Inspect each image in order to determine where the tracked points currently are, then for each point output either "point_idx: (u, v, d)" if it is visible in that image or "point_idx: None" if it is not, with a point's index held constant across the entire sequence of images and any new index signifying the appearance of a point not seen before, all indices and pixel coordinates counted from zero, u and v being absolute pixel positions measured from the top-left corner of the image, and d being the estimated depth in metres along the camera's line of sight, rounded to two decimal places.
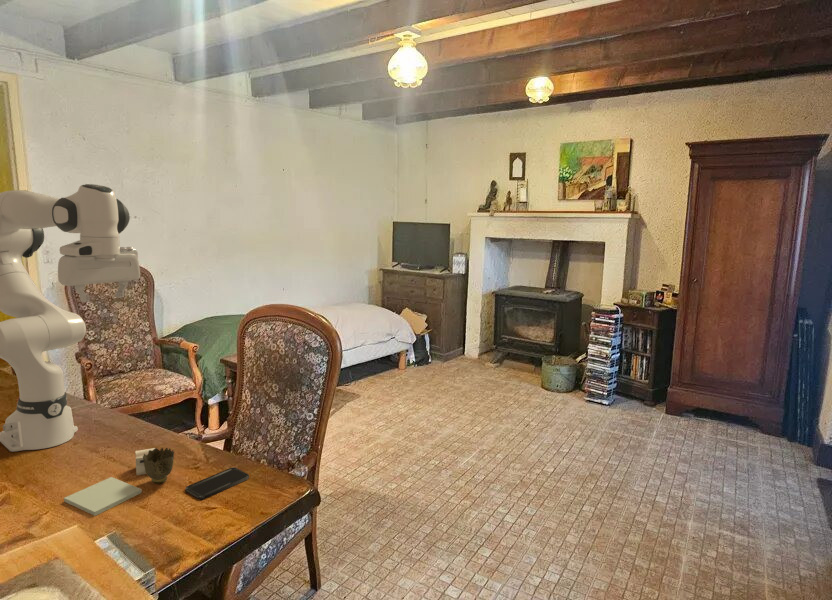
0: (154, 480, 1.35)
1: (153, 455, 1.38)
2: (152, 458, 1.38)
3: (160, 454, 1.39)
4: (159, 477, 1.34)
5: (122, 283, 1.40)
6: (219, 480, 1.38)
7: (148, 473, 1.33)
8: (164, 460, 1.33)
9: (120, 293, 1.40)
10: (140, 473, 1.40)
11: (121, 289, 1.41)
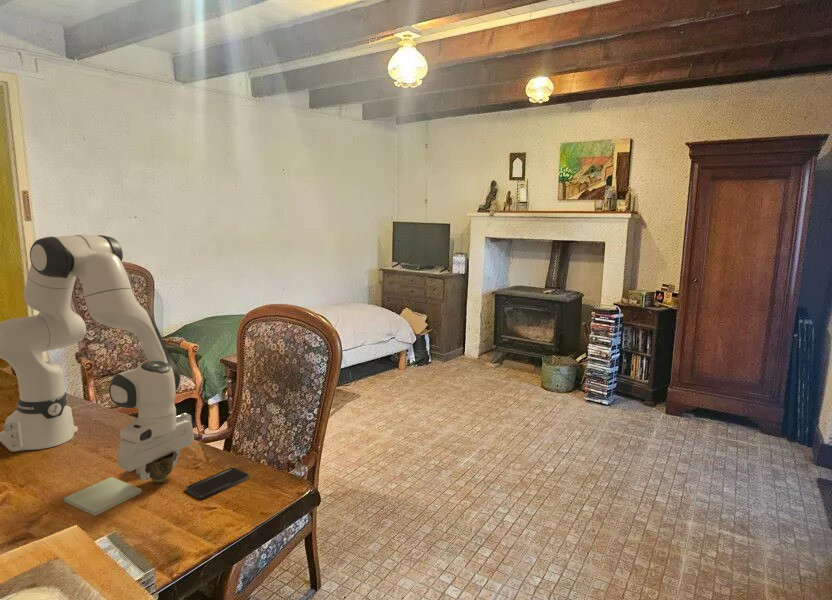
0: (154, 480, 1.35)
1: None
2: None
3: None
4: (159, 477, 1.34)
5: (175, 452, 1.40)
6: (219, 480, 1.38)
7: None
8: (164, 460, 1.33)
9: (173, 462, 1.39)
10: None
11: (174, 458, 1.40)
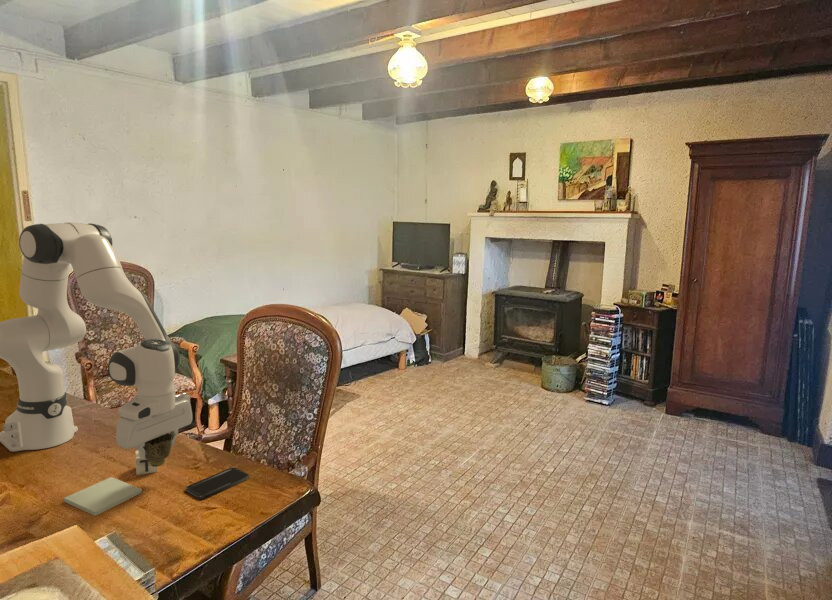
0: (152, 463, 1.34)
1: None
2: (150, 441, 1.37)
3: (158, 437, 1.38)
4: (157, 460, 1.33)
5: (173, 432, 1.39)
6: (219, 480, 1.38)
7: None
8: (162, 443, 1.33)
9: None
10: (140, 473, 1.40)
11: (172, 437, 1.39)
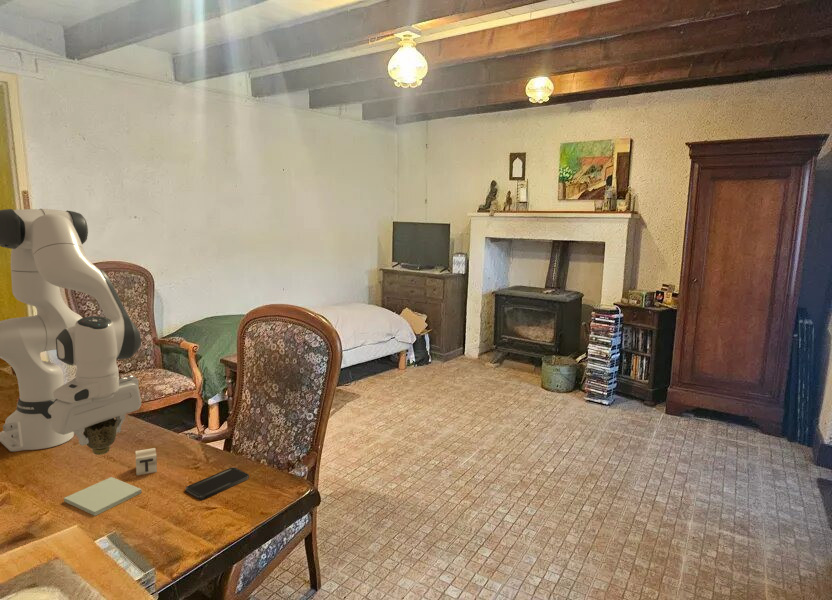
0: (95, 450, 1.24)
1: (95, 424, 1.27)
2: (93, 427, 1.27)
3: (103, 424, 1.28)
4: (100, 447, 1.23)
5: (119, 417, 1.29)
6: (219, 480, 1.38)
7: None
8: (104, 428, 1.23)
9: None
10: (140, 473, 1.40)
11: (117, 424, 1.29)
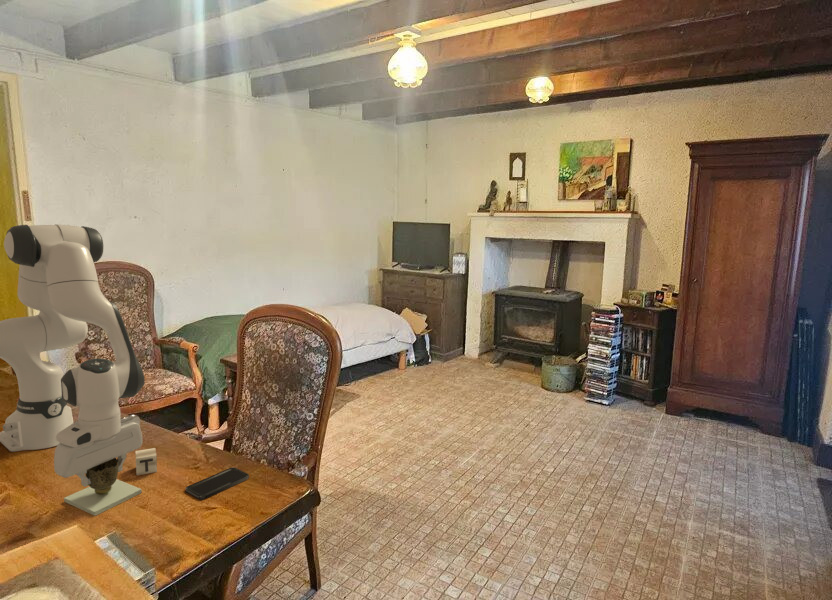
0: (97, 491, 1.26)
1: None
2: (95, 467, 1.29)
3: (104, 463, 1.30)
4: (101, 487, 1.25)
5: (120, 456, 1.31)
6: (219, 480, 1.38)
7: None
8: (106, 469, 1.24)
9: (118, 468, 1.30)
10: (140, 473, 1.40)
11: (119, 463, 1.31)
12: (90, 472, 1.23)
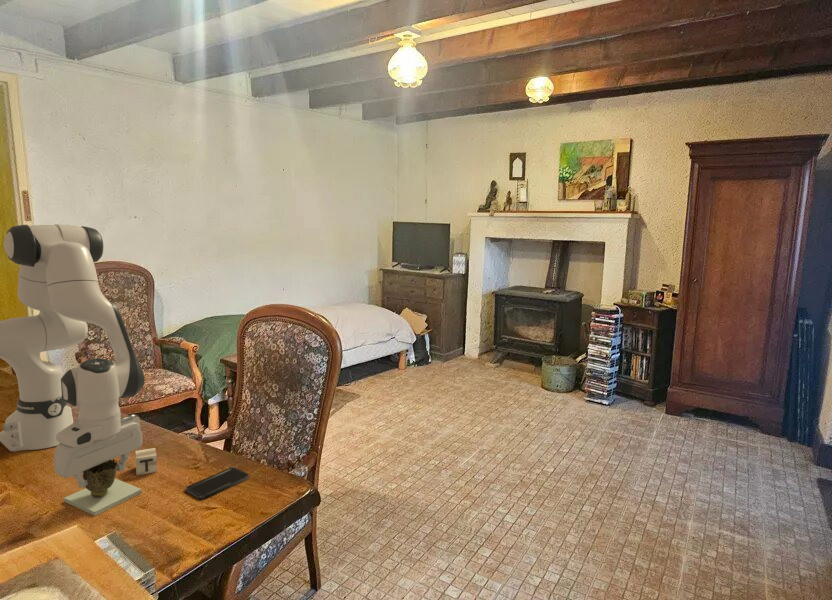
0: (93, 493, 1.25)
1: (95, 466, 1.29)
2: (93, 469, 1.28)
3: (103, 465, 1.30)
4: (98, 490, 1.24)
5: (123, 455, 1.31)
6: (219, 480, 1.38)
7: None
8: (105, 471, 1.24)
9: (121, 466, 1.31)
10: (140, 473, 1.40)
11: (122, 461, 1.31)
12: (88, 473, 1.23)
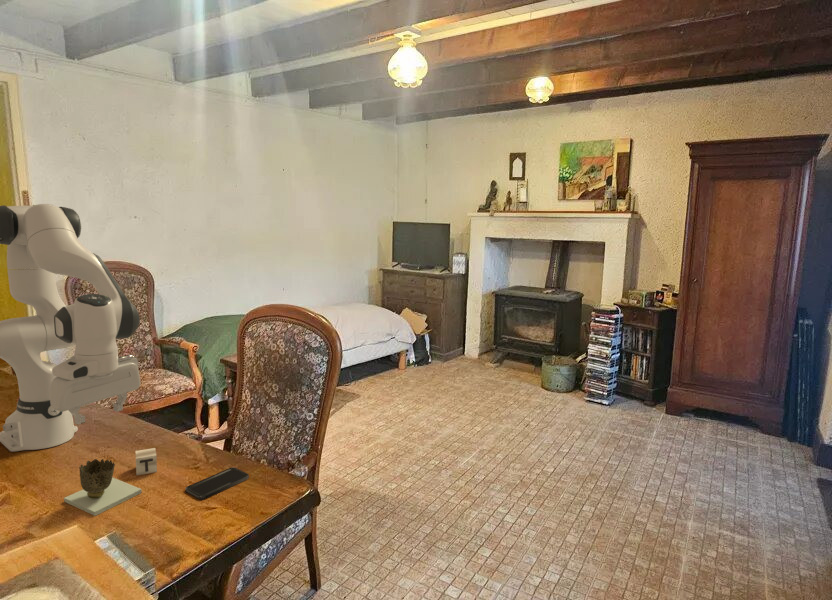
0: (89, 494, 1.25)
1: (92, 466, 1.28)
2: (90, 470, 1.28)
3: (100, 466, 1.29)
4: (95, 491, 1.24)
5: (121, 396, 1.29)
6: (219, 480, 1.38)
7: (83, 486, 1.23)
8: (102, 472, 1.23)
9: (118, 407, 1.29)
10: (140, 473, 1.40)
11: (119, 402, 1.29)
12: (85, 474, 1.22)
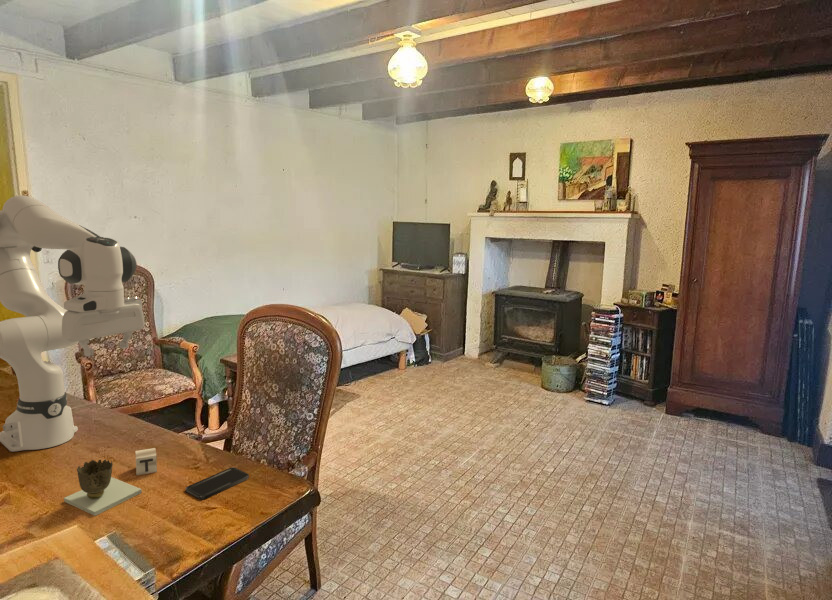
0: (89, 494, 1.25)
1: (89, 467, 1.28)
2: (88, 471, 1.28)
3: (97, 467, 1.29)
4: (94, 491, 1.24)
5: (126, 334, 1.39)
6: (219, 480, 1.38)
7: (82, 487, 1.23)
8: (100, 472, 1.23)
9: (124, 344, 1.39)
10: (140, 473, 1.40)
11: (125, 340, 1.39)
12: (83, 475, 1.22)
